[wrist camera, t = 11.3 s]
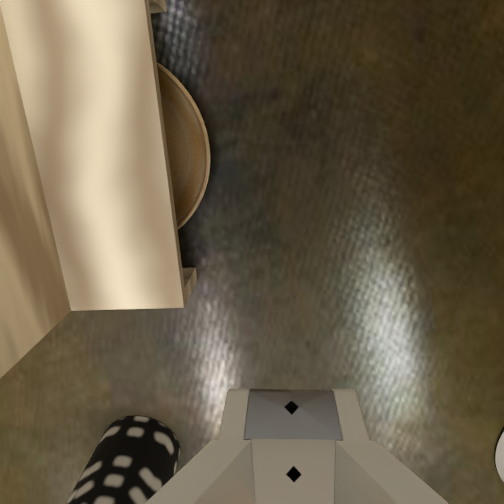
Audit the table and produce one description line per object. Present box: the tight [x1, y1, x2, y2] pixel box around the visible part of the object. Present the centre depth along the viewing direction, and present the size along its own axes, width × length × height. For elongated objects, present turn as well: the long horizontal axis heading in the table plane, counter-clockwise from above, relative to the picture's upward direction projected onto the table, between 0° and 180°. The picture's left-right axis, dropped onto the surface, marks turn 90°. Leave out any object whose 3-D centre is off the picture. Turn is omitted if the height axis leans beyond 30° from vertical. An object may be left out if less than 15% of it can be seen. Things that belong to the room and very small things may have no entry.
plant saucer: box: [156, 62, 210, 230], centre depth 31 cm, size 15×15×3 cm
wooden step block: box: [0, 0, 197, 378], centre depth 24 cm, size 14×22×17 cm, turn 3°
